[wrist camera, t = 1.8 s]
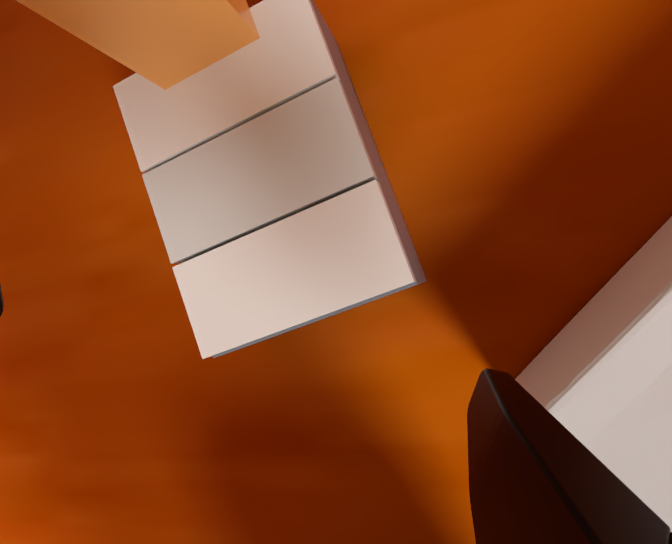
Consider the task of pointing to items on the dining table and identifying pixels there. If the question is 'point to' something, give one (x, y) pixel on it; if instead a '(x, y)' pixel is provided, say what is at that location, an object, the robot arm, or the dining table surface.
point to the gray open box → (381, 178)
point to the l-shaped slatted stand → (246, 159)
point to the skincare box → (619, 374)
